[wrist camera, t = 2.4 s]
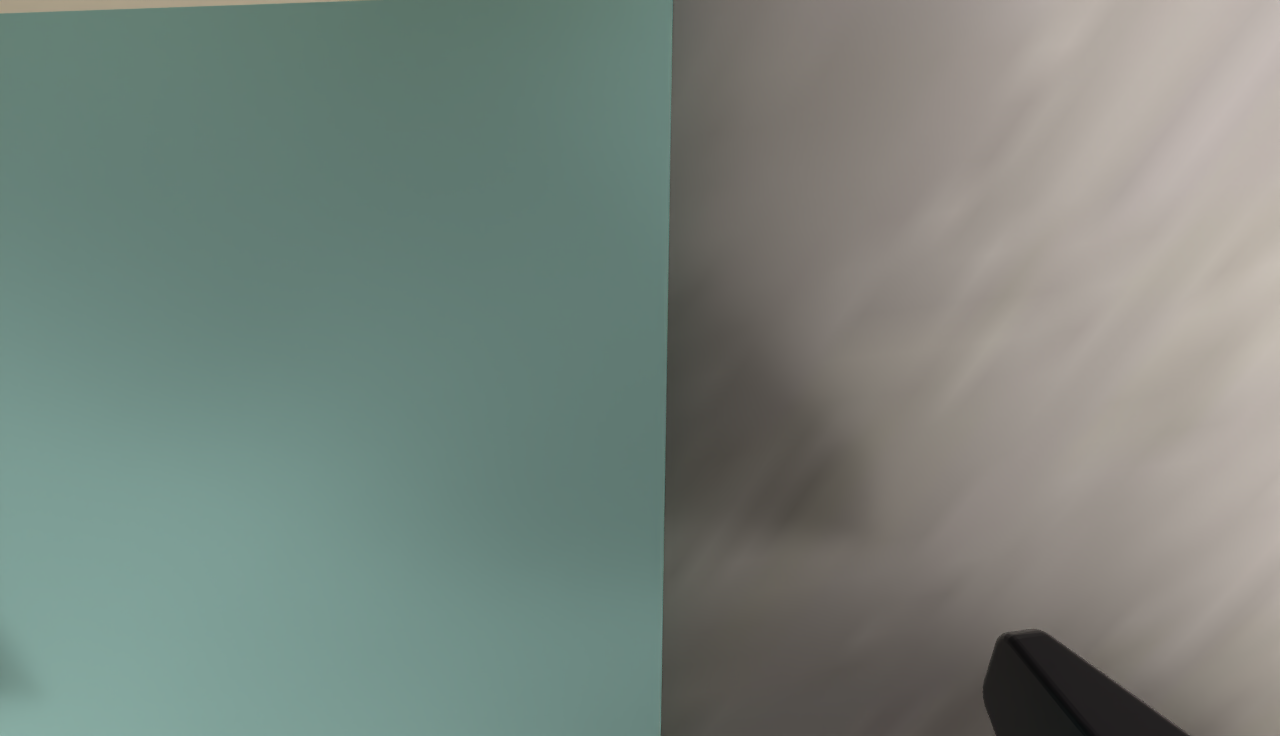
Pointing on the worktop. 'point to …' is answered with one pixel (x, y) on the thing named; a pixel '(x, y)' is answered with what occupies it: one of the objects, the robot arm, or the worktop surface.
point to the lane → (333, 366)
